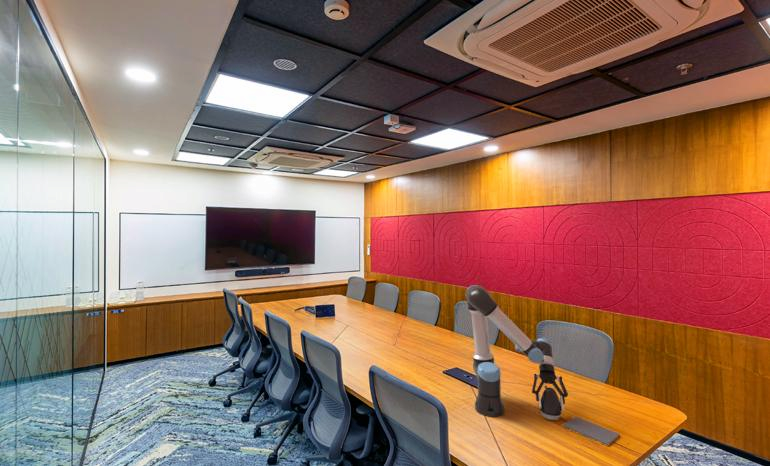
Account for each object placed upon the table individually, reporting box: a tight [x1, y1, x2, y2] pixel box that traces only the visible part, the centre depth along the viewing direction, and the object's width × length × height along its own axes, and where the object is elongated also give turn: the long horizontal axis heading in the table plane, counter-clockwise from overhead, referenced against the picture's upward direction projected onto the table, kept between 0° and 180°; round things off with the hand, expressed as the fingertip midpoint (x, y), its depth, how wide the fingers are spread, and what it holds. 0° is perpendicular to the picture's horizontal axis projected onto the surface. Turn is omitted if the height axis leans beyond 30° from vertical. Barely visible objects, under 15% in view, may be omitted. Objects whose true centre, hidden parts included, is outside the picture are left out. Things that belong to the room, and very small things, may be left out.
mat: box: [562, 416, 621, 446], centre depth 167 cm, size 13×20×1 cm, turn 36°
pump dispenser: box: [539, 384, 563, 421], centre depth 180 cm, size 10×10×15 cm
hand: (551, 408), depth 177 cm, fingers closed on pump dispenser, 10 cm apart
